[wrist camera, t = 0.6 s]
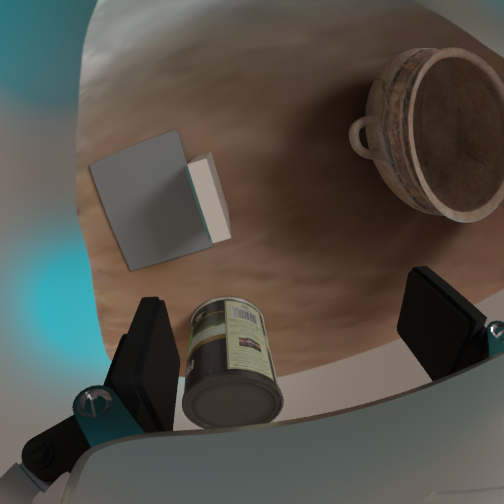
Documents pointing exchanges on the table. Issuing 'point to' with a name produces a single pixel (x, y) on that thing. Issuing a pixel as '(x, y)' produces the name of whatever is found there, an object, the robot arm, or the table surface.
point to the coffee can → (230, 367)
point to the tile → (209, 197)
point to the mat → (151, 201)
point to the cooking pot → (437, 132)
